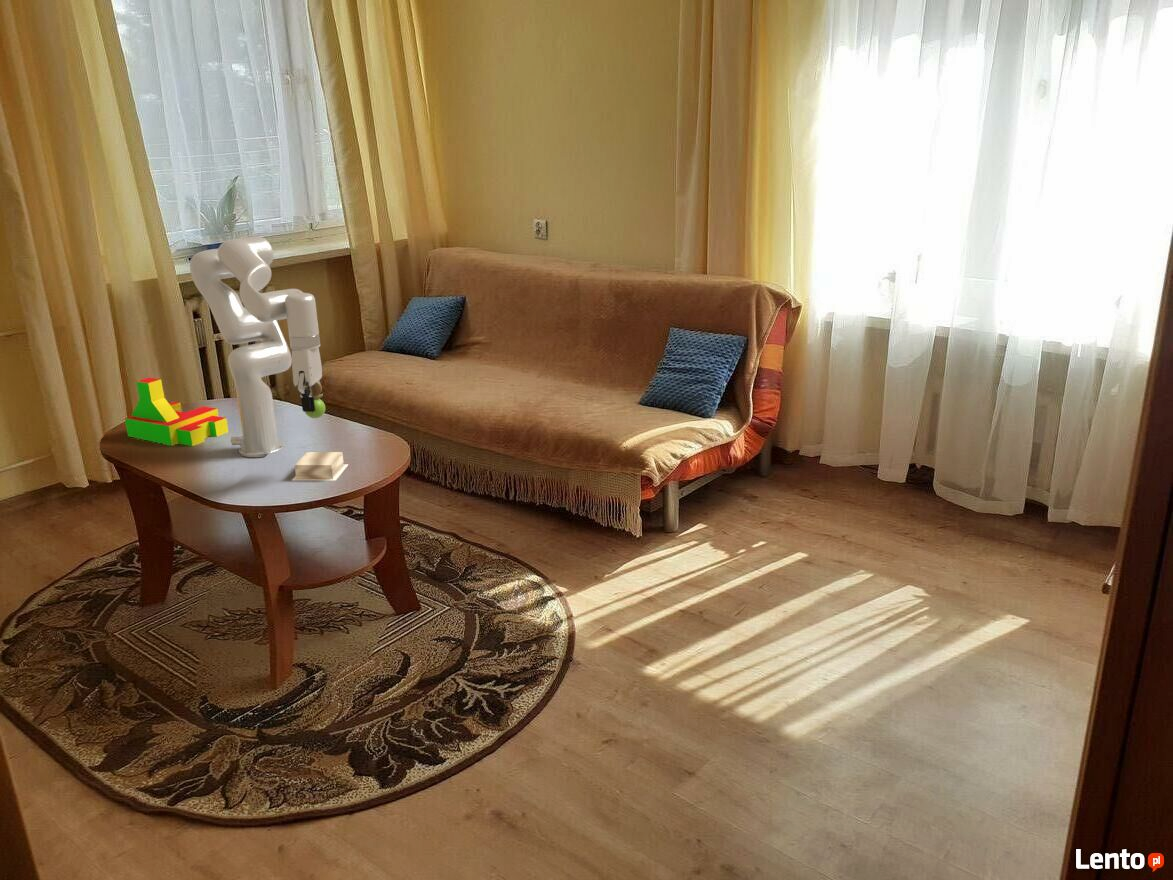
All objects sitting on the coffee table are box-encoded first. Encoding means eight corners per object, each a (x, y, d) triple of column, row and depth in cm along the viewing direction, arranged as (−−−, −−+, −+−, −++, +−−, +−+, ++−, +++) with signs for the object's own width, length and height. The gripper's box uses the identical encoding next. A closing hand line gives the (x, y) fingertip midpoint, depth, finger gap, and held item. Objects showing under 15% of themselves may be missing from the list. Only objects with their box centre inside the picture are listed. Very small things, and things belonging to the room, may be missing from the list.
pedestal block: (296, 478, 249) (294, 465, 248) (308, 465, 258) (306, 452, 257) (332, 479, 249) (331, 465, 247) (343, 465, 258) (342, 452, 257)
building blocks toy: (186, 449, 277) (176, 390, 271) (128, 438, 287) (117, 381, 281) (234, 430, 293) (225, 374, 287) (177, 420, 303) (168, 366, 297)
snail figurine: (303, 415, 250) (298, 372, 246) (328, 414, 251) (323, 371, 247) (299, 421, 245) (294, 377, 241) (324, 420, 246) (319, 376, 242)
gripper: (301, 334, 250) (309, 398, 256) (278, 349, 233) (287, 417, 239) (329, 333, 249) (336, 398, 255) (308, 349, 233) (316, 417, 239)
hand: (312, 407), depth 247 cm, fingers closed on snail figurine, 5 cm apart
